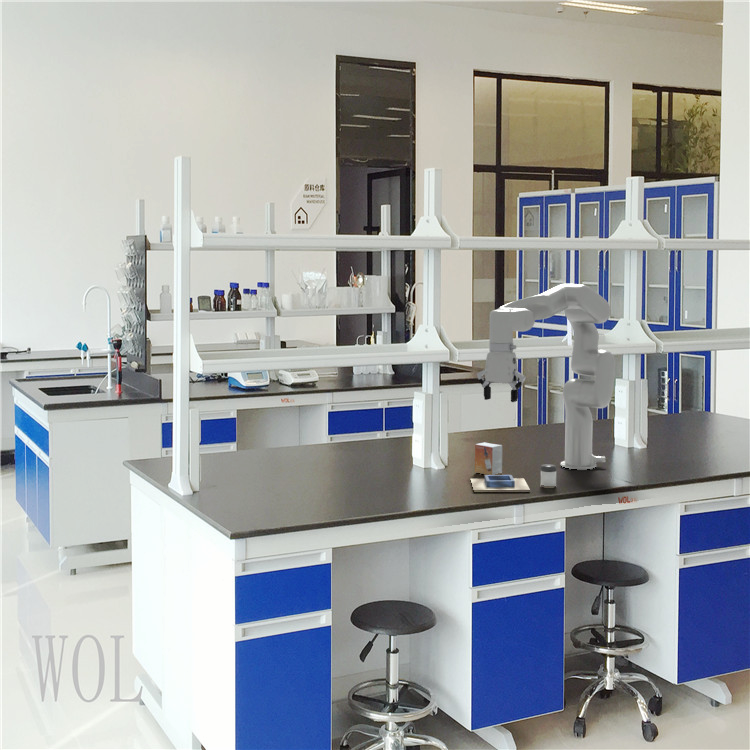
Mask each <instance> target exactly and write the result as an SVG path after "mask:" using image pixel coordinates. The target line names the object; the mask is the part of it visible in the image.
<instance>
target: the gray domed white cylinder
mask: <svg viewBox="0 0 750 750" xmlns="http://www.w3.org/2000/svg"><path fill="white" fill-rule="evenodd" d="M541 485H544V486H556V487H557V465H555V464H550V463H549V464H546V463H545V464H541V465H540V486H541Z"/></svg>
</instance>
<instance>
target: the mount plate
mask: <svg viewBox="0 0 750 750" xmlns="http://www.w3.org/2000/svg"><path fill="white" fill-rule="evenodd" d="M470 480H471V482H470V484H471V483H472V486H471V488H472V487H473V489H472V491H473V490H530V491H531V489H530V487H529V485H528V483H527V482H526V480H525V478H523V477H522V478H521V477H519V478H517V477H515V478H514V477H513V475H512V474H502V475H484V478H470V479H469V481H470Z"/></svg>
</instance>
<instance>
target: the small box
mask: <svg viewBox="0 0 750 750" xmlns="http://www.w3.org/2000/svg"><path fill="white" fill-rule="evenodd" d="M475 472H478V473H483V474H489V475H495V474H498V473H502V474H503V445H502V444H496V443H489V442H485V441H484V442H480V443H476V444H474V473H475Z"/></svg>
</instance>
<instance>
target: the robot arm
mask: <svg viewBox="0 0 750 750" xmlns="http://www.w3.org/2000/svg"><path fill="white" fill-rule="evenodd" d="M561 312H564V315H565V317H566V319H567V320H568V322H569V323H570V325H571V327H572V330H573V335H574V336H573V337H574V338H573V345H572V346H573V347H572V353H571V361H570V362H571V363H570V368H571V371H572V372H573V373H574V374H577V375H579V376H586V377H594V379H593V380H592V379H585V378H572V379H569V380H567V381H566V382H565V384H564V385H563V388H562V398H563V402H564V413H565V417H564V418H565V419H564V422H565V423H564V425H565V428H564V429H565V430H564V431H565V432H564V433H565V435H564V460H563V461H560V465H561V466H562V467H561V466H560V465H559V466H560V467H561V468H563V467H565V468H569V469H568V470H571V469H577V470H576V471H588V470H587V469H590V470H594V469H596V468H597V463H606V459H607V458H606V456H599V455H598V456H596V455H594V454H593V413H592V412H591V409H590V408H592V409H604V408H607V407H608V406H609V404H610V403H611V400H612V396H613V391H614V384H615V376H616V366H617V364H616V363H617V362H616V359H615V356H614V355H613V353H612V352H611V351H608V350H604V349H598V348H599V338H600V336H599V335H600V334H599V330H598V328H597V327H596V325H595V324H598V325H599V324H604V323H606V322H607V321H608V320H609V319H610V316H611V312H612V311H611V306H610V304H609V302H608V301H607V299H605V298H604V297H603V296H601V294H599V293H598V292H597V291H596V290H594V289H593V288H591V287H590V286H588V285H586V284H582V283H580V284H579V283H578V284H577V283H562V284H559V285H556V286H553V287H552V288H549V289H548V290H545V291H543V292H542V293H540V294H537V295H533V296H528V297H525V298H521V299H518V300H517V299H516V300H514V301H511V302H508V303H506V304H504V305H502V306H500V307H498V308H497V309H493V310H491V311H490V312H489V343H488V345H489V349H488V351H487V353H486V359H485V365H484V366H485V367H484V369H483V370H480V371H479V372H477V373H476V376H477V379H478V382H479V383H480V384H481V387H482V388H483V398H484V400H486V401H487V400H491V399H492V390H491V389H492V388H491V385H492V383H494V384H504V385H505V384H507V385H508V384H509V386H510V387H511V389H510V402H511V403H515V402H517V401H518V400H519V390H520V388H521V387H522V386H523V385H524V382H525V381H526V378H527V376H526V375H524V374H523V373H521V372H519V370H518V359H517V354H516V352H515V351H514V350H517V345H515V344H514V332H527V331H530V330H531V329H532V328H533V326H535V322H536V321H537V320H538V321H539V320H545V319H548V318H552V317H553V316H555V315H557V314H559V313H561ZM595 467H596V468H595ZM565 468H564V469H565ZM593 468H594V469H593Z"/></svg>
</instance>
